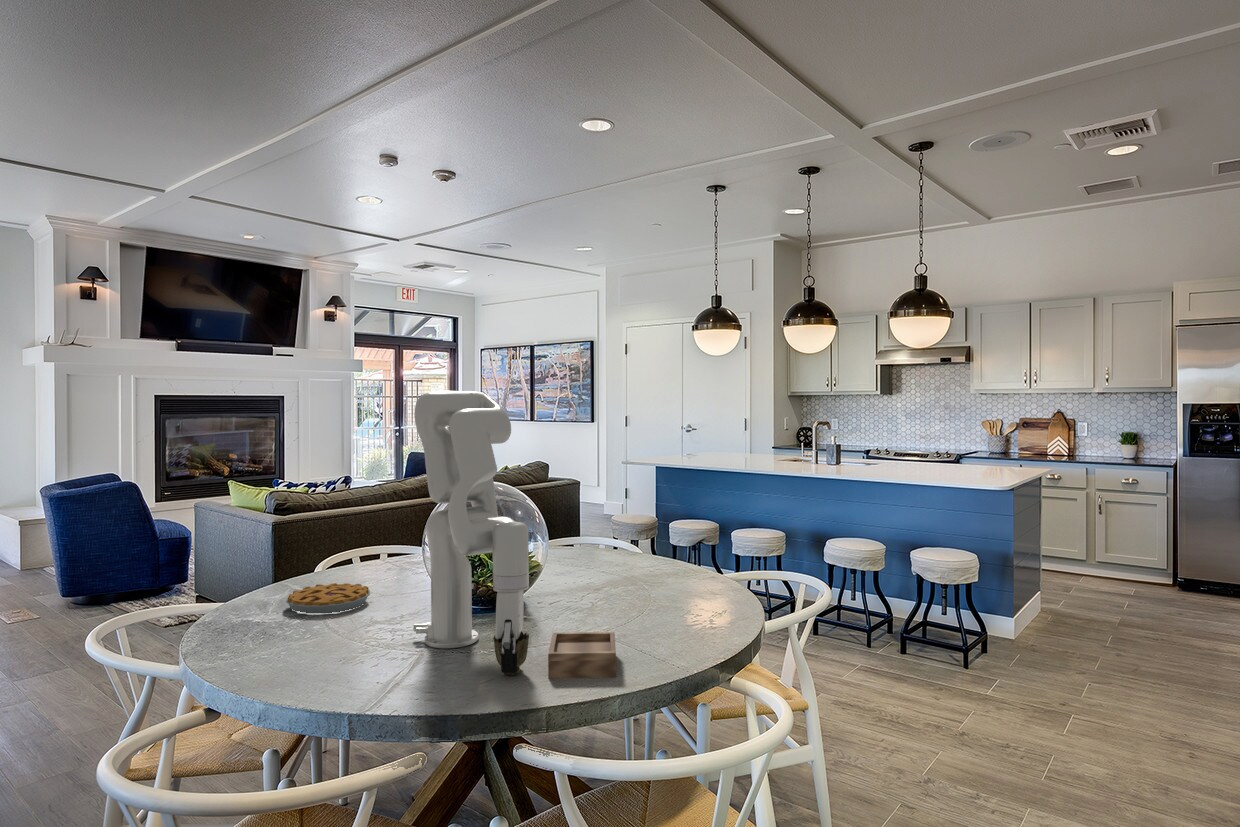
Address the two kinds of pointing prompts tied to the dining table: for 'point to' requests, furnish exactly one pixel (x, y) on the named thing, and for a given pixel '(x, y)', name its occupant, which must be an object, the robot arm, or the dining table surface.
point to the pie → (328, 598)
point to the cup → (520, 650)
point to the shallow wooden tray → (582, 655)
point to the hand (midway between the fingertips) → (511, 665)
